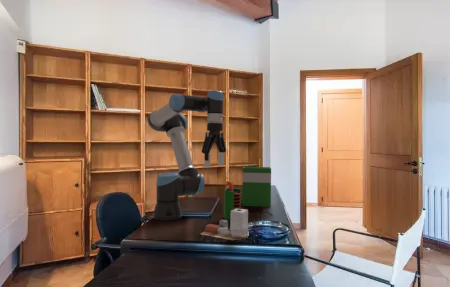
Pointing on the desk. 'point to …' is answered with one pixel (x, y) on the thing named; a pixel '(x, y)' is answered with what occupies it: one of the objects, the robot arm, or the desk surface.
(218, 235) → the tool board
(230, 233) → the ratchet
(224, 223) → the socket
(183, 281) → the desk surface
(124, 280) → the desk surface
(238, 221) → the socket
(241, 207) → the glasses
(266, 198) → the hardback book
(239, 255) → the desk surface
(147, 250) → the desk surface
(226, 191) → the motor
